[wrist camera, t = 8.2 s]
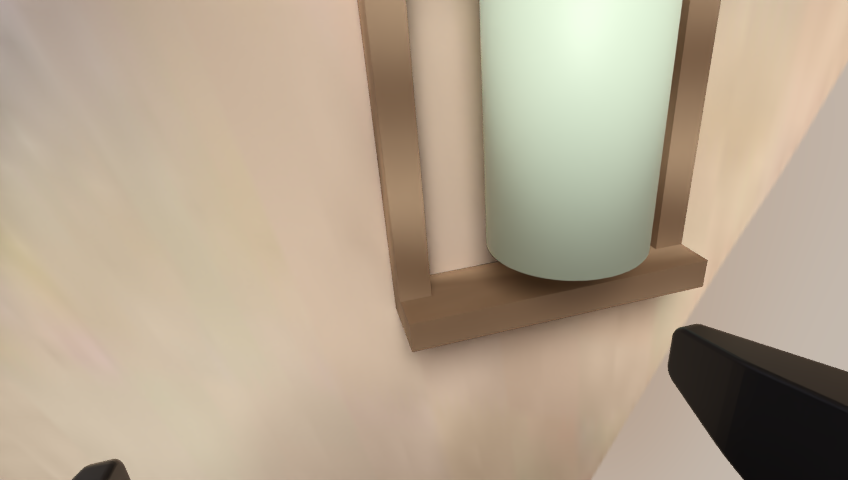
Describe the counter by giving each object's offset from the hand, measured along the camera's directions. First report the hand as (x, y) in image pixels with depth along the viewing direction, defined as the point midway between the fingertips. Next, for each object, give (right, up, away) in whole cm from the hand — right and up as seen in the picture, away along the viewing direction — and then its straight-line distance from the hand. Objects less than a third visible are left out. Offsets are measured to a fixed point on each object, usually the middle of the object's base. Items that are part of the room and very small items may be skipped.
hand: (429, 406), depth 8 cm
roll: (+4, +8, +10) cm, 14 cm away
